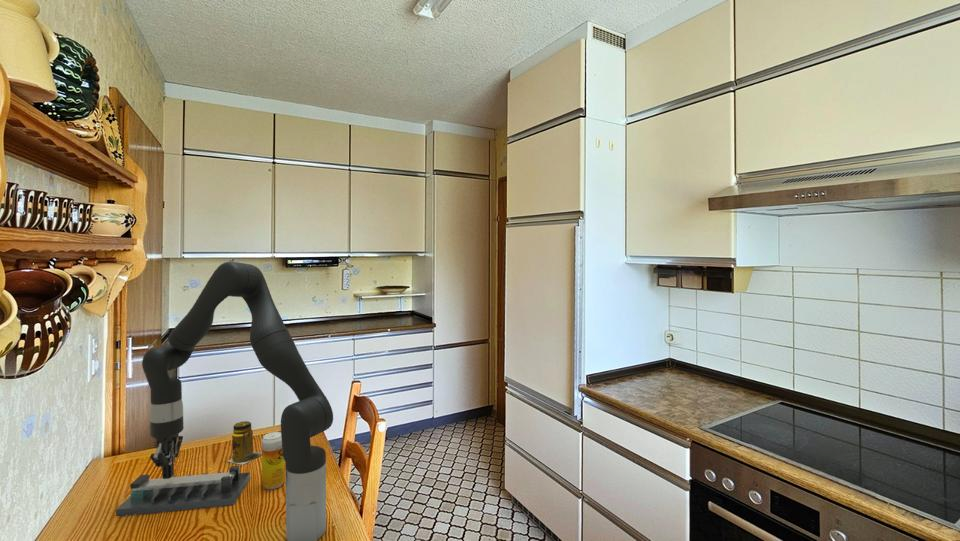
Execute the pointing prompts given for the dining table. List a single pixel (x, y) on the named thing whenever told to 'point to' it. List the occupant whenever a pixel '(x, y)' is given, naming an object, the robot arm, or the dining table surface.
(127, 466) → the dining table surface
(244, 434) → the condiment
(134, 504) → the clamp base
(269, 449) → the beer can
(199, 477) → the bar
